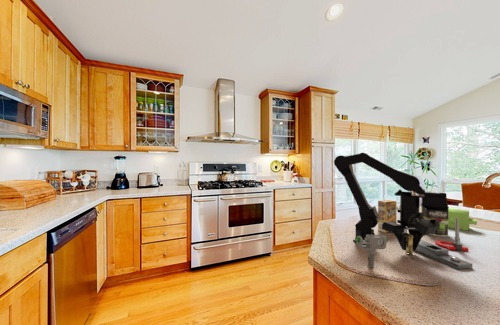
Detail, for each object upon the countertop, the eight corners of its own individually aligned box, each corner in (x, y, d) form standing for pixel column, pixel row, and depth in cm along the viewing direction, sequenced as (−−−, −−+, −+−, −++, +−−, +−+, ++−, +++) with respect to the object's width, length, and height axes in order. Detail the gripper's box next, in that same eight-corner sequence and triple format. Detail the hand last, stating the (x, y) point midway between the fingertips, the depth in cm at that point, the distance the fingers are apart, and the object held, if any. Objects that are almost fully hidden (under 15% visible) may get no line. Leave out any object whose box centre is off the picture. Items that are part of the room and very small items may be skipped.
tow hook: (430, 242, 90) (447, 250, 81) (429, 213, 91) (446, 217, 82) (452, 244, 89) (471, 252, 80) (451, 214, 90) (470, 218, 80)
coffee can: (453, 238, 95) (453, 207, 95) (425, 235, 99) (425, 205, 99) (442, 231, 104) (442, 204, 104) (417, 228, 108) (417, 202, 108)
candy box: (385, 233, 100) (386, 202, 100) (377, 230, 104) (377, 200, 104) (396, 231, 104) (397, 200, 104) (388, 228, 108) (388, 199, 108)
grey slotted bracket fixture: (458, 269, 66) (458, 257, 66) (401, 244, 86) (401, 235, 86) (472, 268, 67) (472, 256, 67) (412, 243, 87) (412, 234, 87)
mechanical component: (353, 264, 68) (353, 234, 68) (382, 264, 69) (382, 234, 69) (358, 269, 65) (359, 238, 65) (389, 268, 66) (389, 237, 66)
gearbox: (429, 225, 117) (429, 209, 117) (432, 221, 123) (432, 206, 123) (476, 233, 103) (476, 214, 103) (477, 228, 109) (476, 211, 109)
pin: (409, 255, 76) (409, 236, 76) (402, 252, 78) (402, 234, 78) (415, 255, 76) (416, 236, 76) (408, 252, 79) (409, 233, 79)
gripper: (408, 214, 68) (407, 261, 68) (454, 213, 71) (453, 258, 71) (381, 207, 79) (380, 247, 79) (422, 206, 82) (421, 245, 82)
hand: (409, 249), depth 77 cm, fingers open, 4 cm apart
